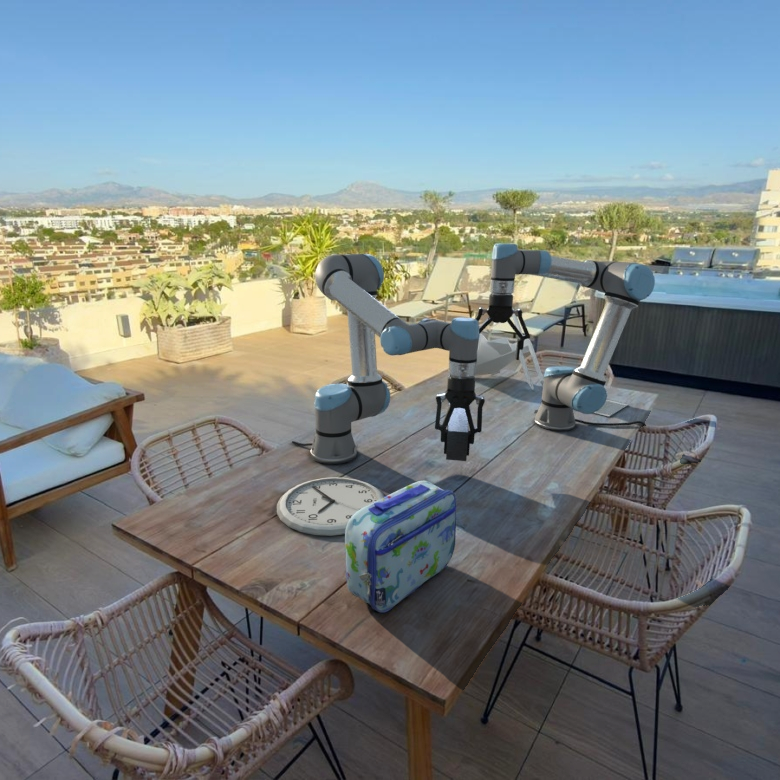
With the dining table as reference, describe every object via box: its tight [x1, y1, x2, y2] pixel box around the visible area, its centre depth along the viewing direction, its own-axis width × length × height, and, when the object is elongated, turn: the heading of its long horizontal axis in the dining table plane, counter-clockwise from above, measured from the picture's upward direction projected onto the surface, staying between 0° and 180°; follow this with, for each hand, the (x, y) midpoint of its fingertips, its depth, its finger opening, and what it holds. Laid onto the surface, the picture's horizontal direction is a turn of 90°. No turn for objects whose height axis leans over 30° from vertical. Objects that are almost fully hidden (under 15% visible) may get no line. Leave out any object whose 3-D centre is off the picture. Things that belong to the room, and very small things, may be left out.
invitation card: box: [593, 399, 629, 418], centre depth 226 cm, size 21×1×15 cm
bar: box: [445, 402, 470, 462], centre depth 158 cm, size 29×6×9 cm, turn 173°
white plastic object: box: [475, 306, 544, 391], centre depth 259 cm, size 37×45×31 cm
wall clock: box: [276, 476, 386, 537], centre depth 142 cm, size 30×2×30 cm
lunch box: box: [344, 480, 457, 614], centre depth 109 cm, size 26×11×21 cm, turn 135°
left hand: (456, 452), depth 150 cm, fingers closed on bar, 6 cm apart
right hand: (496, 358), depth 173 cm, fingers open, 13 cm apart
